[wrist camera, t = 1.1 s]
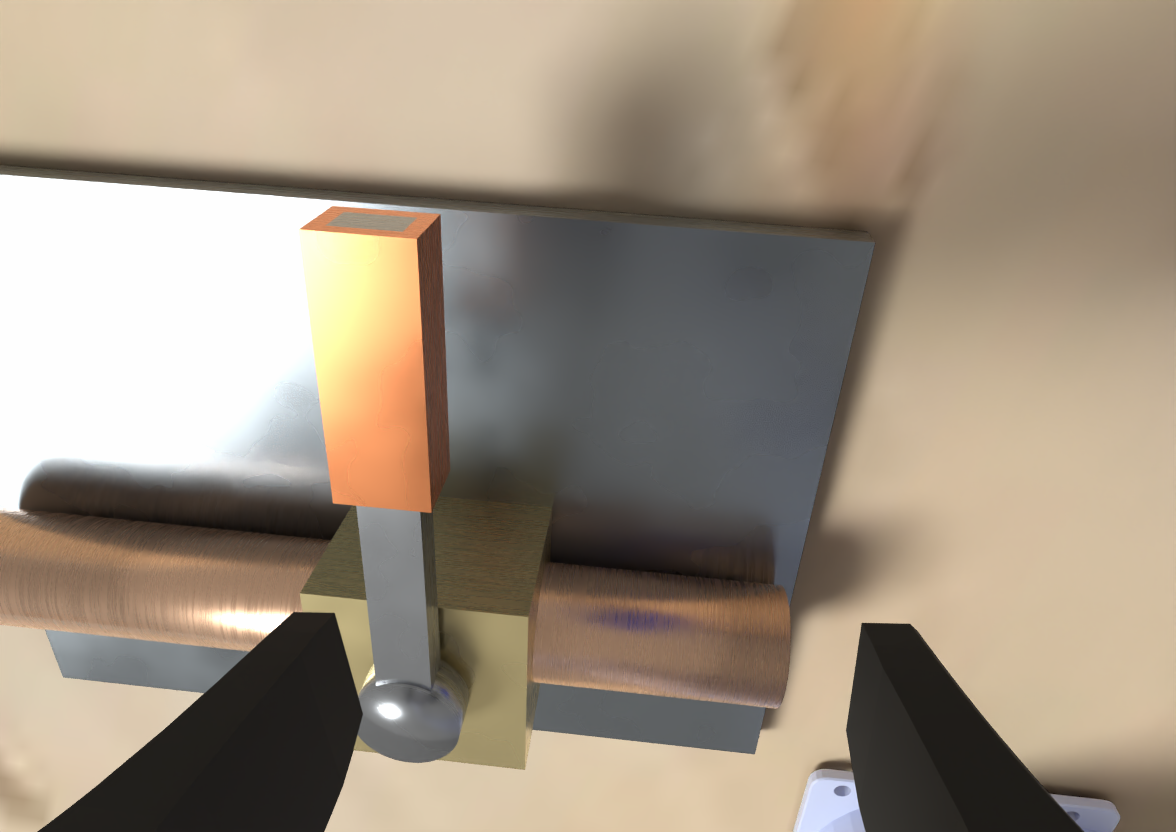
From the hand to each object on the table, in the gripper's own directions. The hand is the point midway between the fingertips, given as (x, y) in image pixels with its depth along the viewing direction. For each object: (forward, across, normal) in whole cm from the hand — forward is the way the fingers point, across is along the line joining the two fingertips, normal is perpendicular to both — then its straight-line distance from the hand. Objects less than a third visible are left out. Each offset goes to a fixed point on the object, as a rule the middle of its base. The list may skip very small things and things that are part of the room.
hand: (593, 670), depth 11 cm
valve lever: (+5, +4, +1) cm, 6 cm away
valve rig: (+10, +6, +3) cm, 12 cm away
